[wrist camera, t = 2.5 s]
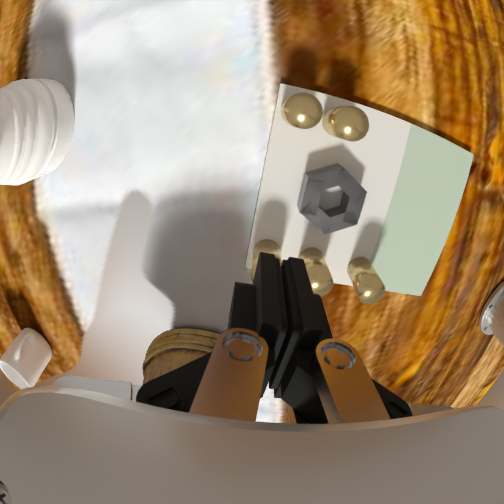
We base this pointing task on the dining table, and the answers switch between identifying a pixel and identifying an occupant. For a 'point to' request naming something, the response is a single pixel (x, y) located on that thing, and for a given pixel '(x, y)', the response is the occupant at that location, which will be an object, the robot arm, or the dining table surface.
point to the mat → (377, 198)
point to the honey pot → (33, 129)
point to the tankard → (176, 350)
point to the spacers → (359, 269)
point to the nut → (338, 215)
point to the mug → (26, 358)
